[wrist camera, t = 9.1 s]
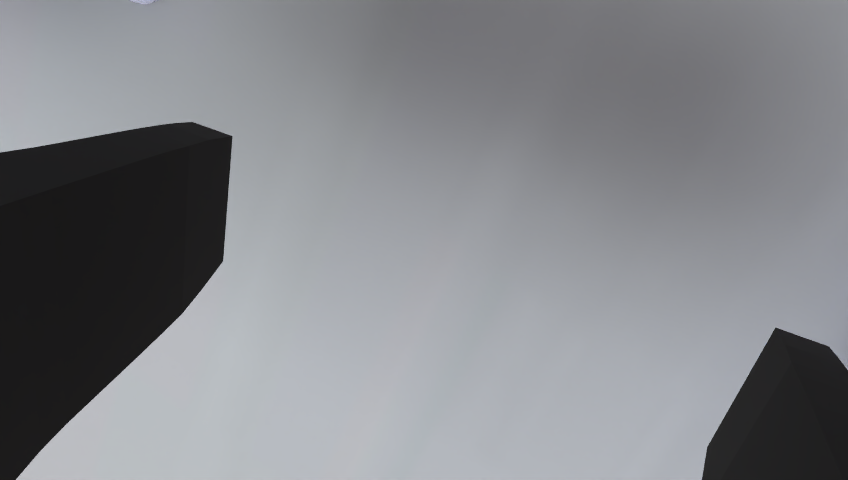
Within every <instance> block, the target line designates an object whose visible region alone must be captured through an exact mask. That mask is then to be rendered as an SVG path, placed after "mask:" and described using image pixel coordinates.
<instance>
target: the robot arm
mask: <svg viewBox="0 0 848 480" xmlns="http://www.w3.org/2000/svg"><path fill="white" fill-rule="evenodd" d="M130 1H133V2H136V3H139V4H150V3H152V2H155V1H157V0H130ZM231 147H232V136H230V135H227V134H225V133H222V132H219V131H216V130H213V129H210V128H208V127H205V126H202V125H199V124H196V123H193V122H187V123H173V124H165V125H158V126H151V127H145V128H139V129H133V130H127V131H122V132H116V133H111V134H105V135H100V136H94V137H89V138H84V139H78V140H73V141H67V142H62V143H56V144H51V145H45V146H40V147H34V148H27V149H21V150H14V151H8V152H1V153H0V480H16V479H17V477H18V476H19V475H20V474H21V473H22V472H23V470H24V469H25V468H26V467H27V466H28V465H29V463H30V462H31V461H32V460H33V459H34V458H35V456H36V455H37V454H38V453H39V452H40V451H41V450H42V449H43V448H44V446H45V445H46V444H47V443H48V442H49V441H50V440H51V439H52V438H53V437H54V436H55V435H56V434H57V433H58V432H59V431H60V430H61V429H62V428H63V427H64V426H65V425H66V424H67V423H68V422H69V421H70V420H71V419H72V418H73V417H74V416H75V415H76V414H77V413H79V412H80V411H81V410H82V409H83V408H84V407H85V406H86V405H87V404H88V403H89V402H90V401H91V400H92V399H93V398H94V397H95V396H97V395H98V394H99V393H100V392H101V391H102V390H103V389H104V388H105V387H106V386H107V385H108V384H109V383H110V382H111V381H112V380H113V379H115V378H116V377H117V376H118V375H119V374H120V373H121V372H122V371H123V370H124V369H125V368H126V367H127V366H128V365H129V364H130V363H131V362H133V361H134V360H135V359H136V358H137V357H138V356H139V355H140V354H141V353H142V352H143V351H144V350H145V349H146V348H147V347H148V346H149V345H150V344H151V343H152V342H154V341H155V340H156V339H157V338H158V337H159V336H160V335H161V334H162V333H163V332H164V331H165V330H166V329H167V328H168V327H169V326H170V325H171V324H172V323H173V322H174V321H175V320H176V319H177V318H178V317H179V316H180V315H181V314H182V313H183V312H184V311H185V309H186V308H187V307H188V306H189V304H190V303H191V302H192V301H193V300H194V298H195V297H196V296H197V295H198V293H199V292H200V291H201V290H202V288H203V287H204V286H205V284H206V283H207V282H208V280H209V279H210V278H211V276H212V275H213V274H214V272H215V271H216V270H217V268H218V267H219V266H220V264H221V263H222V262H223V254H224V241H225V227H226V214H227V201H228V187H229V174H230V161H231ZM702 480H848V370H847V369H846V367H845V366H844V365H843V363H842V362H841V361H840V360H839V358H838V357H837V356H836V355H835V353H834V352H833V351H832V350H831V349H830V347H829V346H826V345H823V344H820V343H817V342H815V341H812V340H809V339H806V338H803V337H800V336H798V335H795V334H792V333H789V332H786V331H783V330H781V329H778V328H775V330H774V331H773V333H772V335H771V337H770V338H769V340H768V342H767V344H766V345H765V347H764V349H763V351H762V352H761V354H760V356H759V358H758V359H757V361H756V363H755V365H754V366H753V368H752V370H751V372H750V373H749V375H748V377H747V379H746V380H745V382H744V384H743V386H742V387H741V389H740V391H739V393H738V394H737V396H736V398H735V400H734V401H733V403H732V405H731V407H730V408H729V410H728V412H727V414H726V415H725V417H724V419H723V421H722V422H721V424H720V426H719V428H718V429H717V431H716V433H715V435H714V436H713V438H712V440H711V442H710V443H709V445H708V447H707V453H706V459H705V465H704V471H703V477H702Z"/></svg>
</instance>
